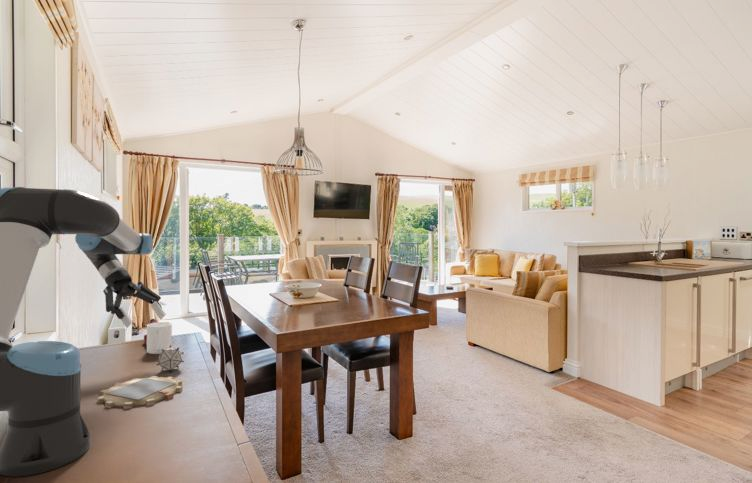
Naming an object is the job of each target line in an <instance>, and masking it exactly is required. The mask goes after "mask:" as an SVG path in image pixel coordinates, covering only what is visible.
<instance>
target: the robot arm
mask: <svg viewBox="0 0 752 483" xmlns="http://www.w3.org/2000/svg"><path fill="white" fill-rule="evenodd" d="M53 235H75V237H74V238H75V239H74V240H75V243H76V244H77V246H78V248H79V250H81V251H82V252H83V254H84V255H85V256H86V257H87V258H88V259H89V261H90V262H91V263H92V265H93V266H94V268H95V269H96V270H97V271H98V273H99V275H100V276H101V278H102V279H103V281H105V284H106V287H105V288H104V289H103V293H104V295H105V297H104V298H105V312H107V313H111V314H112V315H115V316H116V317H117V319H118V320H120V321H121V322H122V323H123V325H124V327H126V328H129V327H130V326H131V325H132V323H133V320H132V319H131V317H130V316H129V314H128V313H127V312H126V310H125V308H124V307H121V304H122V301H123V298H127V297H133V298H138V299H140V300H141V301H144V302H146V303H148V304H150V307H151V308H152V310H153V311H154V313H155V314H156V316H157V317H158V318H159V320H163V318H164V317H165V316H166V315H167V314H166V312H165V311H164V309H163V307H162V305H161V304H160V300H161V299H162V297H161V296H160V295H158V294H157V293H156V292H154V291H153V290H152V289H150V288H149V287H148V286H145V284H144V283H143V282H142V281H138V282H137V283H134V282H133V281H132V276H131V275H130V274H129V272H128V270H126V267H125V265H124V264H122V262H121V260H120V259H119V258H118V257H117V255H139V256H142V255H149V254H151V253H152V252H153V248H154V239H153V235H152V234H150V233H146V232H145V233H144V232H142V233H141V232H137V230H135V229H134V228H133V227H131V226H130V225H129V224H128V223H127V222H125V221H124V220H123V219H122V218H121V217H120V214H119V212H118V210H117V209H116V208H114V207H113V206H112V205H110V203H107V202H106V201H104V200H102V199H100V198H98V197H96V196H93V195H91V194H88V193H86V192H83V191H79V190H75V189H66V188H65V189H60V188H58V189H56V188H36V187H35V188H33V187H31V188H29V187H28V188H27V187H25V186H24V187H23V186H16V187H2V188H0V412H7V414H8V415H7V420H8V421H7V422H8V423H7V430H6V431H5V432H6V433H5V434H4V437H3V439H2V442H1V445H0V475H2V476H5V477H13V478H14V477H15V478H16V477H17V478H18V477H27V476H34V475H39V474H42V473H46V472H49V471H53V470H56V469H58V468H60V467H63V466H66V465H68V464H70V463H72V462H73V461H75V460H77V459H79V458H80V457H82V456H83V455H84V454H85V453H86V452H87V451H88V450H89V448H90V446H91V445H90V442H91V441H90V440H91V438H90V437H91V436H90V433H89V430H88V427H87V425H86V423H85V420H84V418H83V415H82V414H81V371H82V363H81V354H80V353H81V352H80V350H79V348H78V347H77V346H74V345H73V344H71V343H67V342H64V341H57V340H55V341H53V340H40V341H29V342H27V341H26V342H22V343H18V344H15V345H13V344H12V342H10V340H9V339H10V335H11V332H12V329H13V326H14V323H15V319H16V318H17V314H18V312H19V309H20V305H21V303H22V300H23V296H24V295H25V291H26V288H27V287H28V286H27V285H28V283H29V280H30V276H31V273H32V272H33V271H32V270H33V267H34V265H35V261H36V260H37V259H36V258H37V256H38V254H39V250H40V249H42V248H45V247H47V246H48V245H49V243H50V241H51V238H52V236H53ZM114 294H116V296H115V299H114Z"/></svg>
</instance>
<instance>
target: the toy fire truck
mask: <svg viewBox="0 0 752 483" xmlns="http://www.w3.org/2000/svg"><path fill="white" fill-rule="evenodd" d="M157 322H158V321H157V320H156V319H155V318H151V319H150V320H149V324H151V323H157ZM143 344H144V345H145V346H146V347H147V334H144V335H143Z"/></svg>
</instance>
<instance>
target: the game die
mask: <svg viewBox="0 0 752 483" xmlns="http://www.w3.org/2000/svg"><path fill="white" fill-rule="evenodd" d="M162 351H163V352H162V353H161V354H156V357H157V358H158V363H157V364H156V366H160V367H161V370H164V369H165V370H167V371H169V373H170V374H171V373H172V370H174V369H175V368H177V369H179V367H180V366H179V365H180V364H181V363H185V360H183V355H184V352H183V351H182V352H181V351H180V347H177V348H174V347H173V346H171V345H170V348H168V349H166V350H163V349H162Z"/></svg>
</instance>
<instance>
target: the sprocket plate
mask: <svg viewBox="0 0 752 483" xmlns="http://www.w3.org/2000/svg"><path fill="white" fill-rule="evenodd" d="M174 378H175V377H174V376H167V377H163V376H160V377H159V376H158V375H152V376H150V377H143V378H139V377H136V378H135V377H134V378H131V380H127V381H125V382H124V381H123V382H116V383H113V384H112V386H111V387H109V388H106V389H102V390H101V391H99V396H97V403H98V404H103V403H104V407H105V408H107V409H112V408H113V407H117V408H118V407H119V408H120V407H122V408H123V410H124V409H125V410H127V409H132V408H133V407H138V406H144V405H145V406H146V407H149V406H153V405H156V404H155V403H156V402H160V401H163V400H170V399H172V398H174V395H175V394H176V393H181V392H182V390H183V380H181V379H178V380H176V379H174Z"/></svg>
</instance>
